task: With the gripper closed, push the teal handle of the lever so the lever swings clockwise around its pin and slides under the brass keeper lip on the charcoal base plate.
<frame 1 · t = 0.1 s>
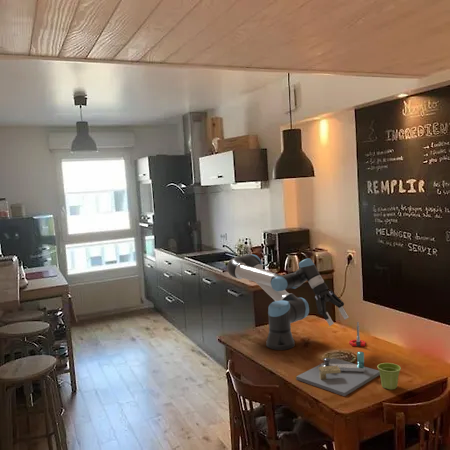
hand: (339, 321, 243), 15 cm above the table, tool tilted 35°, fingers open, 13 cm apart
keeper: (332, 380, 209), resting on base plate
lever: (342, 360, 216), point 6 cm above the table, hinge at 35.0°
plant pot: (389, 387, 201), on the table
base plate: (338, 376, 213), on the table
tow hook: (357, 344, 254), on the table
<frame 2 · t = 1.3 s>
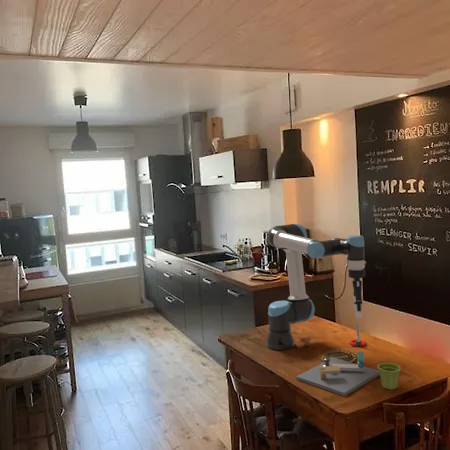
hand: (358, 313, 222), 25 cm above the table, tool pointing down, fingers open, 13 cm apart
nothing on the table moved.
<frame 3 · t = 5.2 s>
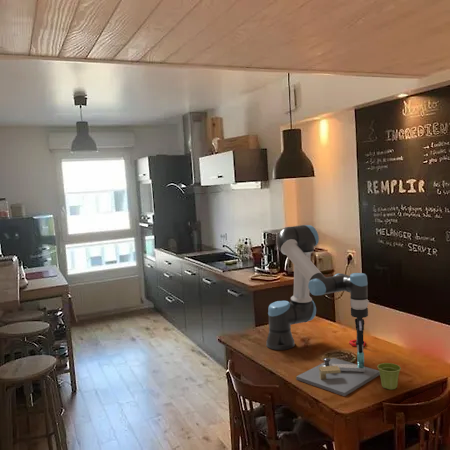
hand: (360, 357, 217), 6 cm above the table, tool pointing down, fingers closed
lever: (342, 360, 216), point 6 cm above the table, hinge at 34.7°, touching gripper
everything else where it was.
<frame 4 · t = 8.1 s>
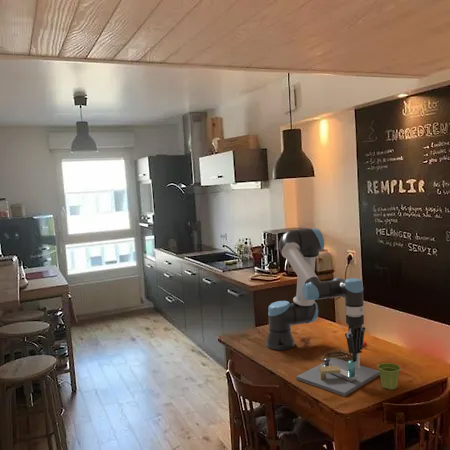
hand: (356, 367, 207), 7 cm above the table, tool pointing down, fingers closed
lever: (337, 364, 212), point 6 cm above the table, hinge at -10.9°, touching gripper
everything else where it was.
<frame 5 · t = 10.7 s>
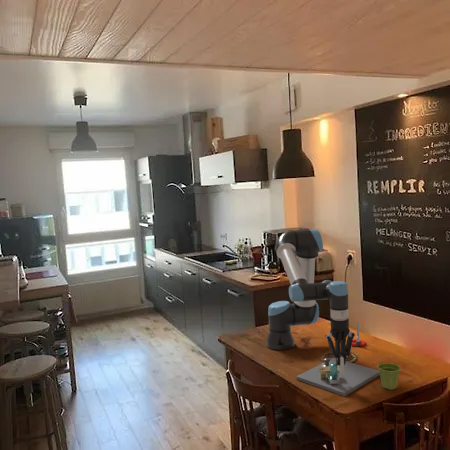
hand: (341, 371, 203), 6 cm above the table, tool pointing down, fingers closed
lever: (329, 366, 211), point 6 cm above the table, hinge at -43.8°, touching gripper
everything else where it was.
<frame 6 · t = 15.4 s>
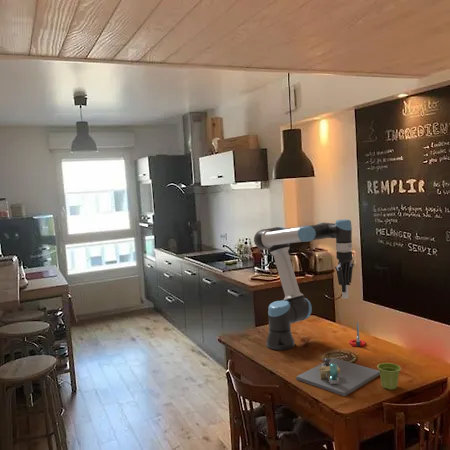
hand: (345, 298, 235), 29 cm above the table, tool pointing down, fingers closed
lever: (329, 366, 211), point 6 cm above the table, hinge at -43.9°
everything else where it was.
at the end: lever at -44° (first picture: +35°); plant pot moved 0.2 cm from its start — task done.
